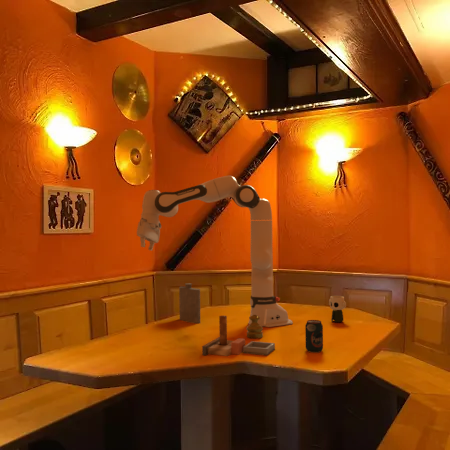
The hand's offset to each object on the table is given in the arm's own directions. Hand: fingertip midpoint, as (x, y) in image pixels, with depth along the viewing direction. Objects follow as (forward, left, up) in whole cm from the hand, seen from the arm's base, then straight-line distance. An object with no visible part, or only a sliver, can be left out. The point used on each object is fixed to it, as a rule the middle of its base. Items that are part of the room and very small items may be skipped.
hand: (146, 248), depth 251 cm
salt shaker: (-43, +37, -40) cm, 69 cm away
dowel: (-23, +55, -39) cm, 71 cm away
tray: (-36, +61, -39) cm, 81 cm away
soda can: (-57, +68, -40) cm, 97 cm away
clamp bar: (-19, +52, -39) cm, 68 cm away
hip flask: (-23, -8, -40) cm, 47 cm away
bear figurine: (-95, +20, -40) cm, 105 cm away
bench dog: (-28, +59, -39) cm, 76 cm away
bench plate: (-23, +55, -39) cm, 71 cm away
